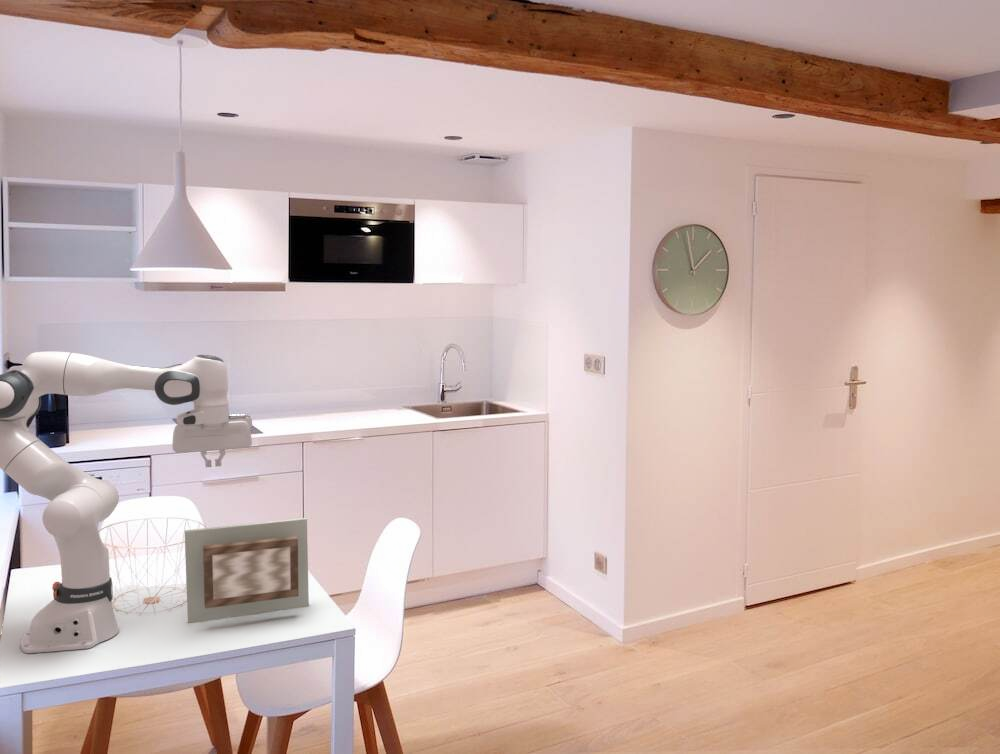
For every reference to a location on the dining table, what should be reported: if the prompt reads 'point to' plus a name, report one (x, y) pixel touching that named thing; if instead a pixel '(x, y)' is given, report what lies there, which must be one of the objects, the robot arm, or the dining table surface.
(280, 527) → the sage wall panel
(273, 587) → the walnut frame
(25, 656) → the dining table surface
